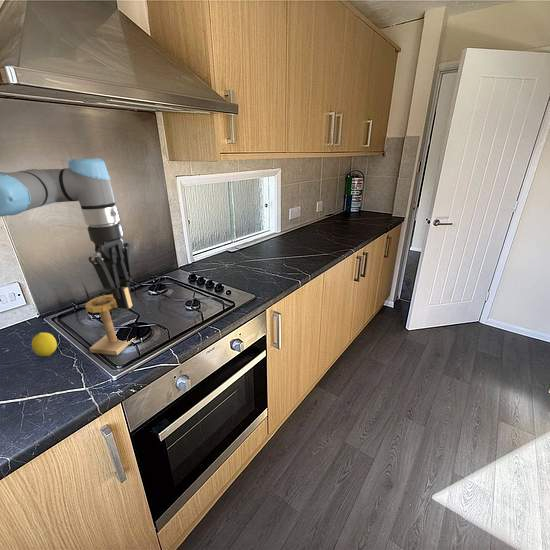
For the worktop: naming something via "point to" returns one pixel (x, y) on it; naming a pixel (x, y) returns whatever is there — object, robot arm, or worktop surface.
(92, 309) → the hang ring
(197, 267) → the worktop surface
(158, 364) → the worktop surface
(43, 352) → the lemon
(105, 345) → the peg stand
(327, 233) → the worktop surface
